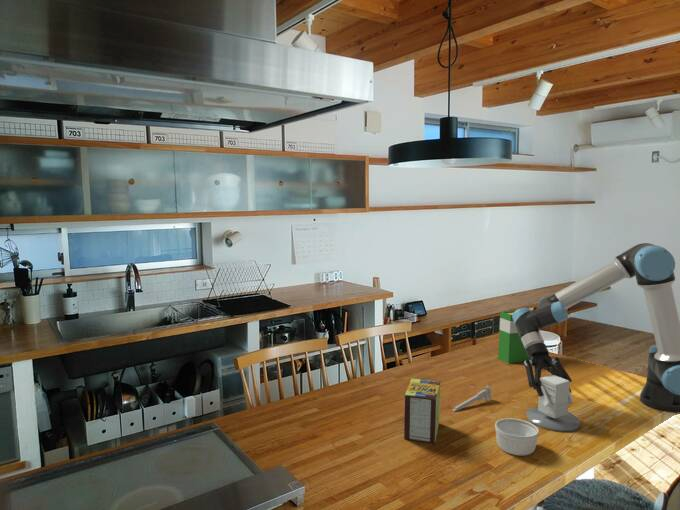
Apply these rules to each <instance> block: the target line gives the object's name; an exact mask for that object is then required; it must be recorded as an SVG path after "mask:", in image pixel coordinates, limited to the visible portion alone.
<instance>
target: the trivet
mask: <svg viewBox="0 0 680 510" xmlns="http://www.w3.org/2000/svg"><path fill="white" fill-rule="evenodd" d="M526 417H527V418H526ZM525 418H526V420H527V419H528V420H529V421H530V422H529V421H528V422H529V423H531V422H532V423H533V425H534V424H535V426H536V425H537V426H536V427H538V426H540V427H539V428H541V427H542V428H541V429H543V428H546V429H545V430H547V429H549V430H548V431H551V430H552V431H551V432H558V431H559V432H560V433H568V432H574V431H578V429H580V428H581V420H580V418H579V417H578V416H576V415H575V414H573V413H571V412H570V411H568V414H566V415H563V416H560V417H557V418H553V417H550V416H548V415H546V414H544V413H542V412H540V411H538V406H535V407H531V408H529V409H527V410H526V412H525ZM532 423H531V424H532Z"/></svg>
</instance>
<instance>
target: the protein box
mask: <svg viewBox="0 0 680 510" xmlns="http://www.w3.org/2000/svg"><path fill="white" fill-rule="evenodd" d="M440 409H441V381H438V380H437V381H436V380H428V379H419V378H410V381H409V384H408V386H407V389H406V391H405V394H404V420H403V421H404V422H403V423H404V427H403V428H404V429H403V431H404V432H403V433H404V434H403V439H404V440H410V441H411V440H412V441H417V442H422V443H423V442H424V443H431V444H436V440H437V437H438V436H437V435H438V430H439V425H440V414H441V413H440Z"/></svg>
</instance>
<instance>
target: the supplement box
mask: <svg viewBox="0 0 680 510" xmlns="http://www.w3.org/2000/svg"><path fill="white" fill-rule="evenodd" d="M540 380H541V384H540V386H543V387H544V389H545V392H546V394H547V397H548V399H549V401H550V404H549V405H547V406H544V403H543V401H542V399H541V397H539V396H538V404H537V407H538V411H540V412H542V413H544V414H546V415H548V416H550V417H553V418H557V417H560V416H563V415H566V414H568V412H569V404H568V402H569V387H570V386H571V382H570V381H568V380H566V379H563V378H561V377H558V376H555V375H552V374H550V375H546V376H543V377H542V376H541V378H540Z"/></svg>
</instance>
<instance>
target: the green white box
mask: <svg viewBox="0 0 680 510" xmlns="http://www.w3.org/2000/svg"><path fill="white" fill-rule="evenodd" d="M516 310H517V309H516ZM516 310H507V311H505V310H504V311H500V313H499V314H500V315H499V335H498V336H499V337H498V351H497V353H498V354H497V355H498V357H497V359H498V360H499V359H500V361H502V362H504V363H506V364H508V363H509V364H515V362H516V363H522V362H521V361H523V362H525V361H526V360H527V359H528V360H530V359H529V357H528V355H527V353H526V349H525V348H524V345H523V343H522V340H521V338H520V336H519V333H518V331H517V329H516V326H515V323H514V320H513V317H512V315H513V313H514V312H515V311H516Z"/></svg>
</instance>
